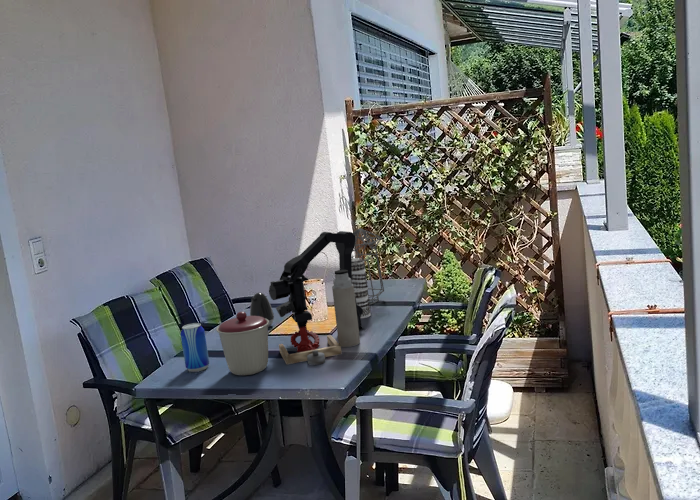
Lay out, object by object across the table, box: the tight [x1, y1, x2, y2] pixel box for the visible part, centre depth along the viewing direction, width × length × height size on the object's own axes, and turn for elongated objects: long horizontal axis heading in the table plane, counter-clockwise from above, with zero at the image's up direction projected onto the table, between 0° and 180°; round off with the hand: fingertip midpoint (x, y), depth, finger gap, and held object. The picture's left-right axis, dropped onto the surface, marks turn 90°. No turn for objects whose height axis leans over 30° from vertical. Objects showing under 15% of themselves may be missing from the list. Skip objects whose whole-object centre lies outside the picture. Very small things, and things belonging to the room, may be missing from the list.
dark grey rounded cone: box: [249, 292, 275, 328], centre depth 279 cm, size 10×10×15 cm
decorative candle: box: [352, 257, 372, 320], centre depth 279 cm, size 9×9×25 cm
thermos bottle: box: [331, 269, 361, 348], centre depth 242 cm, size 8×8×28 cm
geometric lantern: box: [351, 228, 385, 306], centre depth 300 cm, size 16×16×35 cm
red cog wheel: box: [290, 326, 320, 353], centre depth 244 cm, size 11×12×8 cm
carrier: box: [278, 334, 343, 366], centre depth 235 cm, size 20×22×4 cm
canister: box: [215, 311, 269, 376], centre depth 225 cm, size 18×18×21 cm
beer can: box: [180, 322, 210, 373], centre depth 234 cm, size 8×8×16 cm
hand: (302, 333), depth 250 cm, fingers closed
